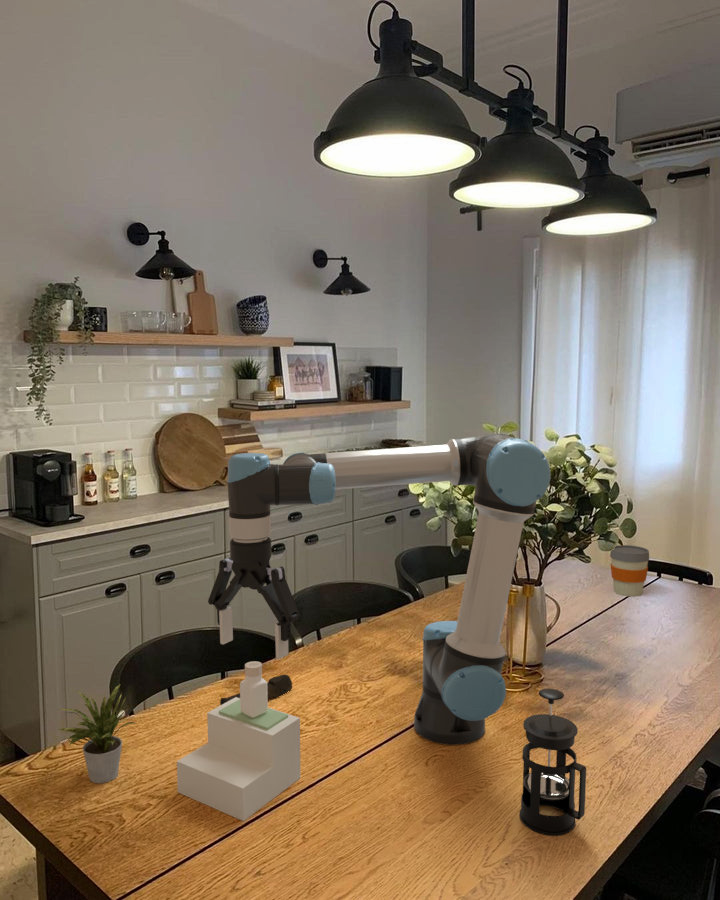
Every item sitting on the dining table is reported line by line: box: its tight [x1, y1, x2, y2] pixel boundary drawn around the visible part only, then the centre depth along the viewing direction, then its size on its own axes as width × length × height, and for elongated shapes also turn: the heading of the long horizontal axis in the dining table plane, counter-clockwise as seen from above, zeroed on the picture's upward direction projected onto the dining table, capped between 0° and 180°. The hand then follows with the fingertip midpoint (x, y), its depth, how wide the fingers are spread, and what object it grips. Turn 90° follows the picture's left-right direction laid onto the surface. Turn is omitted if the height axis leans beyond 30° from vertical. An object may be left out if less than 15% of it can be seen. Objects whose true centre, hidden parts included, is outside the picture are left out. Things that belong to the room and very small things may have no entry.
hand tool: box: [219, 674, 293, 706], centre depth 173 cm, size 19×4×5 cm, turn 130°
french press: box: [519, 687, 587, 837], centre depth 128 cm, size 12×9×23 cm
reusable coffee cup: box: [609, 544, 650, 598], centre depth 255 cm, size 13×13×15 cm
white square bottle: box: [239, 660, 269, 718], centre depth 141 cm, size 4×4×10 cm
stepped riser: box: [176, 697, 301, 822], centre depth 139 cm, size 16×16×12 cm
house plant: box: [57, 683, 136, 784], centre depth 143 cm, size 14×14×16 cm
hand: (253, 649), depth 140 cm, fingers open, 13 cm apart
